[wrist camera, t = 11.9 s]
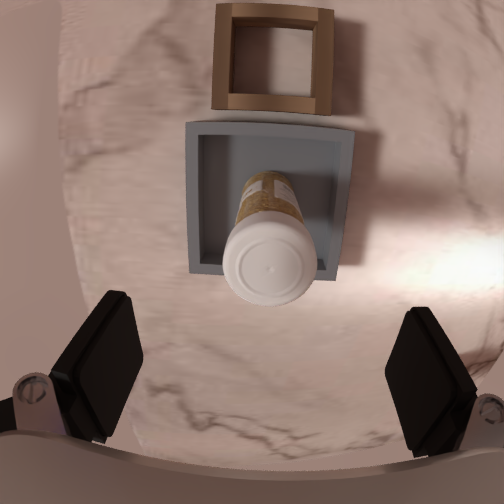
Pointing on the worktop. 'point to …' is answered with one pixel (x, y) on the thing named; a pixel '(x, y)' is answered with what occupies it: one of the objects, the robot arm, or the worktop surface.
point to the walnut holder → (279, 18)
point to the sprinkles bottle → (269, 244)
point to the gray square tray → (258, 160)
